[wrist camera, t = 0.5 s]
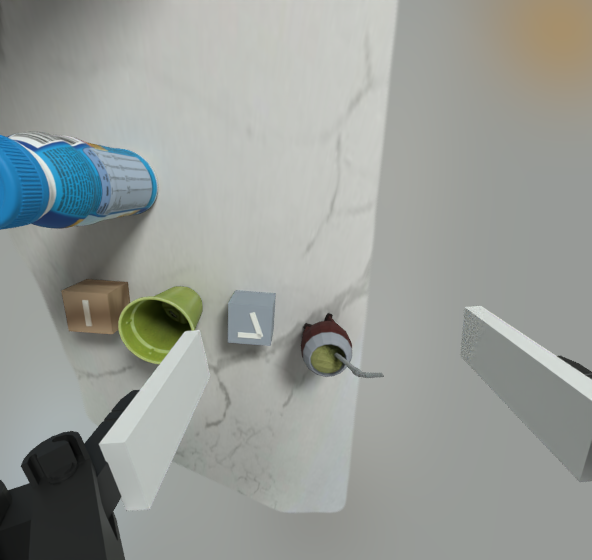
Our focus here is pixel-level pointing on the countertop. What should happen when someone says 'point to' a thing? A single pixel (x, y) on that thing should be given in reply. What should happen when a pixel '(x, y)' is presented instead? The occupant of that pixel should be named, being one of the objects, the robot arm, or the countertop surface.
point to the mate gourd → (329, 349)
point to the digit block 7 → (251, 317)
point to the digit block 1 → (95, 305)
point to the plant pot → (159, 322)
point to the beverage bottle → (69, 181)
